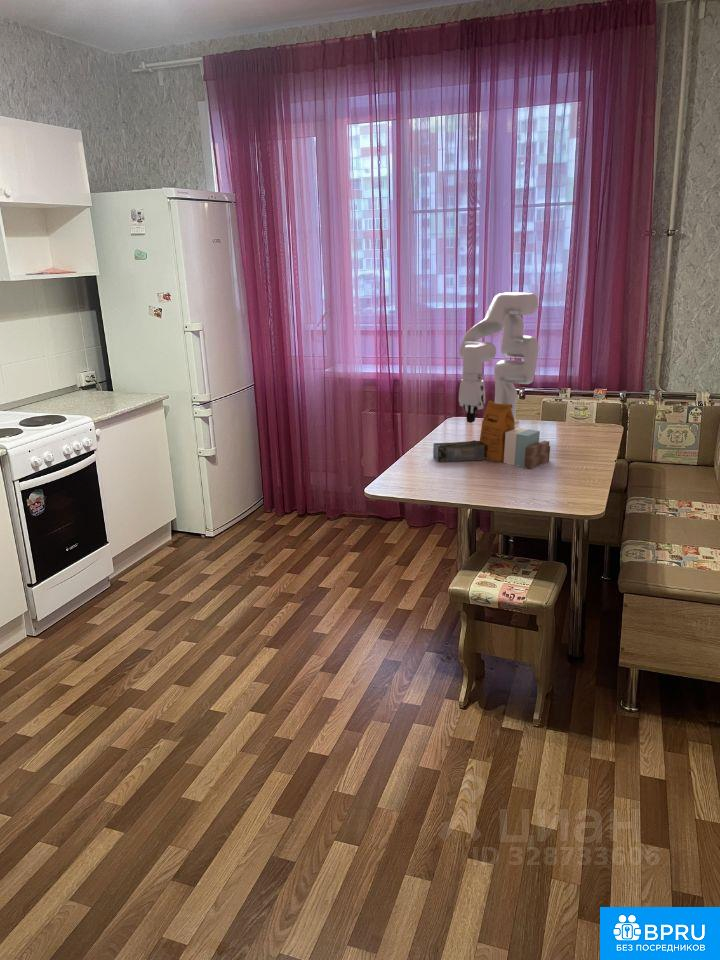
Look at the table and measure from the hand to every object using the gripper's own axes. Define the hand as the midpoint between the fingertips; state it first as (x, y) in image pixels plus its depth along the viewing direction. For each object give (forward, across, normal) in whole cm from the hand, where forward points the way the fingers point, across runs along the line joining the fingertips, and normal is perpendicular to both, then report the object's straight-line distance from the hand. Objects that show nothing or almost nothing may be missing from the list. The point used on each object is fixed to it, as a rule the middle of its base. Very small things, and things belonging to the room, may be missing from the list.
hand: (470, 421), depth 296 cm
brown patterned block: (+11, -23, +2) cm, 26 cm away
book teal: (+11, -28, +3) cm, 30 cm away
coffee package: (+11, -15, +5) cm, 19 cm away
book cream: (+11, -23, +4) cm, 26 cm away
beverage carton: (+11, -6, +16) cm, 20 cm away
